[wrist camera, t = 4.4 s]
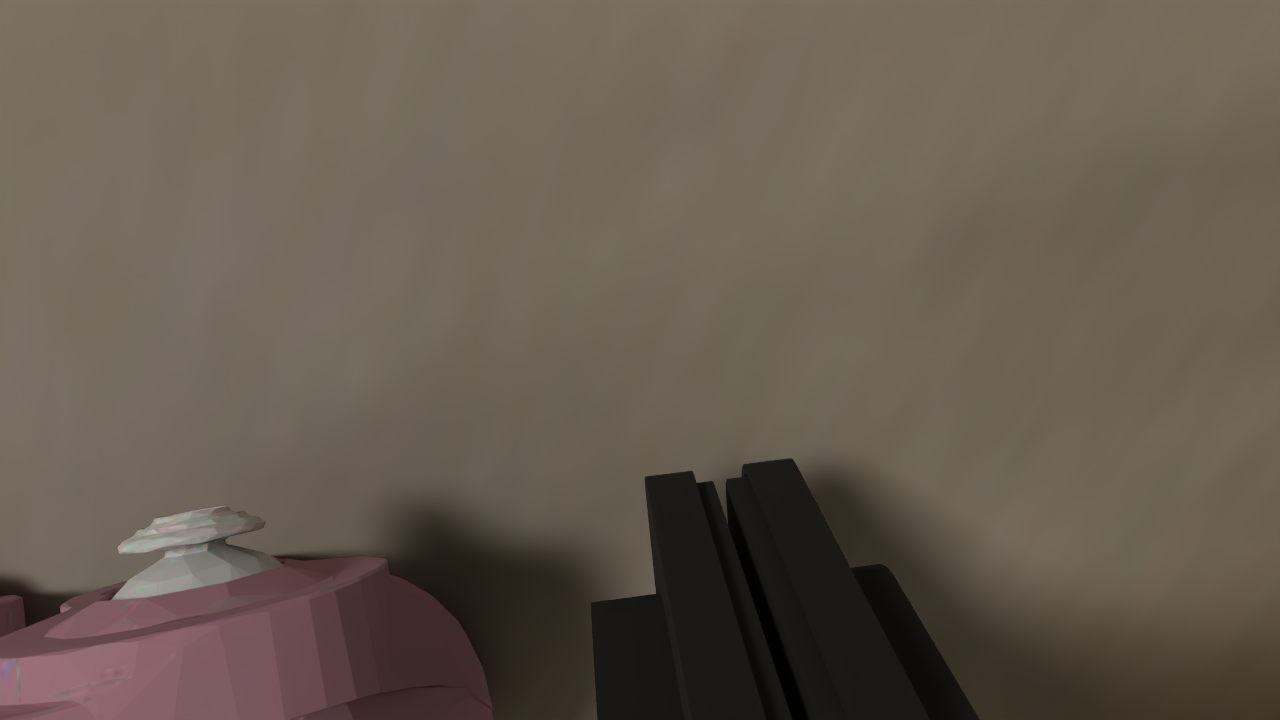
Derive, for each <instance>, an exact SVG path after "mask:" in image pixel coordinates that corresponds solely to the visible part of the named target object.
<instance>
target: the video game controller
mask: <svg viewBox="0 0 1280 720" xmlns="http://www.w3.org/2000/svg"><path fill="white" fill-rule="evenodd" d="M264 525H265V521H264V520H262V519H261V518H260V517H256V516H250V515H249V514H247V513H246V512H245V511H241V512H235V511H232V510H231V509H230V508H229V507H228V506H220V507H214V508H208V509H200V510H195V511H190V512H184V513H179V514H174V515H169V516H164V517H159V518H155V519H154V521H153V522H152V524H151V525H150V526H148V527H147V528H143V529H140V530H138V531H137V532H136V534H135V535H134V536H133V537H131V538H129V539H127V540H125V541H123V542H122V543H121V544H120V546H119V547H118V551H119V553H120V555H122V554H134V553H144V552H150V551H156V550H165V557H164V558H162V559H161V560H159V561H158V562H156V563H155V564H153V565H152V566H150V567H148V568H147V569H145V570H144V571H142V572H140V573H139V574H137V575H136V576H134V577H132V578H131V579H129V580H128V581H125V582H122V583H118V584H114V585H111V586H107V587H104V588H101V589H97V590H94V591H91V592H88V593H85V594H82V595H79V596H75V597H72V598H71V599H69V600H68V601H66V602H64V603H63V604H62V605H61V606H60V611H61V613H60V614H58V615H55V616H53V617H50V618H48V619H45V620H43V621H40V622H38V623H35V624H33V625H30V626H28V627H26V622H25V614H24V605H23V598H22V597H21V596H17V595H5V596H0V720H493V714H492V703H491V699H490V695H489V690H488V686H487V682H486V678H485V674H484V671H483V667H482V665H481V663H480V661H479V659H478V657H477V655H476V653H475V651H474V649H473V647H472V645H471V643H470V641H469V639H468V637H467V635H466V633H465V632H464V630H463V628H462V626H461V625H460V623H459V621H458V620H457V619H456V618H455V617H454V616H453V615H452V614H450V613H449V612H448V611H447V610H446V609H445V608H444V607H443V606H442V605H441V604H440V603H439V602H438V601H437V600H436V599H435V598H434V597H433V596H432V595H430V594H428V593H427V592H425V591H423V590H422V589H420V588H418V587H416V586H415V585H413V584H411V583H410V582H408V581H406V580H404V579H401V578H398V577H395V576H393V575H390V572H389V567H388V562H387V559H385V558H378V557H370V556H352V557H341V558H330V559H319V560H308V561H301V560H295V559H289V558H285V559H278V558H276V557H273V556H269V555H267V554H265V553H262V552H259V551H255V550H250V549H246V548H242V547H237V546H233V545H229V544H226V542H225V539H227V538H228V537H230V536H233V535H238V534H242V533H246V532H251V531H255V530H259V529H261V528H263V527H264Z"/></svg>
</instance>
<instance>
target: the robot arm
mask: <svg viewBox="0 0 1280 720" xmlns="http://www.w3.org/2000/svg"><path fill="white" fill-rule="evenodd" d="M645 489H646V499H647V509H648V518H649V528H650V538H651V548H652V558H653V567H654V577H655V587H656V594H652V595H645V596H637V597H630V598H622V599H615V600H607V601H600V602H592V603H591V616H592V633H593V650H594V667H595V685H596V702H597V719H598V720H979V718H978V716H977V715H976V713H975V711H974V710H973V708H972V706H971V705H970V703H969V701H968V700H967V698H966V696H965V695H964V693H963V691H962V689H961V688H960V686H959V684H958V683H957V681H956V679H955V678H954V676H953V674H952V673H951V671H950V669H949V668H948V666H947V664H946V663H945V661H944V659H943V658H942V656H941V654H940V653H939V651H938V649H937V647H936V646H935V644H934V642H933V641H932V639H931V637H930V636H929V634H928V632H927V631H926V629H925V627H924V626H923V624H922V622H921V621H920V619H919V617H918V616H917V614H916V612H915V611H914V609H913V607H912V605H911V604H910V602H909V600H908V599H907V597H906V595H905V594H904V592H903V590H902V589H901V587H900V585H899V584H898V582H897V580H896V579H895V577H894V575H893V574H892V573H891V572H890V570H889V569H888V568H887V567H886V566H884V565H882V564H878V565H870V566H862V567H855V568H850V566H849V564H848V562H847V561H846V559H845V557H844V555H843V553H842V551H841V549H840V547H839V545H838V543H837V541H836V540H835V538H834V536H833V534H832V532H831V530H830V528H829V526H828V524H827V522H826V521H825V519H824V517H823V515H822V513H821V511H820V509H819V507H818V505H817V503H816V502H815V500H814V498H813V496H812V494H811V492H810V490H809V488H808V486H807V484H806V483H805V481H804V479H803V477H802V475H801V473H800V471H799V469H798V467H797V465H796V464H795V462H794V461H793V459H790V458H789V459H782V460H774V461H766V462H758V463H750V464H744V465H743V467H742V477H740V478H733V479H727V481H726V498H727V515H728V524H727V521H726V518H725V515H724V512H723V509H722V506H721V503H720V500H719V497H718V494H717V491H716V488H715V485H714V483H713V481H709V482H701V483H696V480H695V477H694V474H693V471H687V472H679V473H671V474H663V475H655V476H647V477H645Z"/></svg>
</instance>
